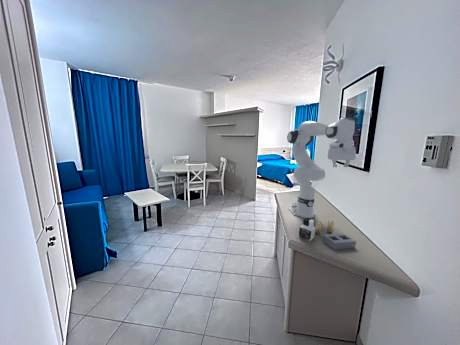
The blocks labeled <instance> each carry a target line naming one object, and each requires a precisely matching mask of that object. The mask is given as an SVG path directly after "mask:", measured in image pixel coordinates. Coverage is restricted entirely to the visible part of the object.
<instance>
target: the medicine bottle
mask: <svg viewBox="0 0 460 345" xmlns="http://www.w3.org/2000/svg"><path fill="white" fill-rule="evenodd" d="M314 222H315V221H314V219H312V218H305V217H304V218H303V221H302V225H301V226H299V231H298V232H299V233H298V238H300V239H303V240H305V241H307V242H311V241H312V240H313V239H314V238H315V235H316V234H315V229H316V226H314V225H315V224H314Z"/></svg>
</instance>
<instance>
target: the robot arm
mask: <svg viewBox="0 0 460 345" xmlns="http://www.w3.org/2000/svg"><path fill="white" fill-rule="evenodd" d="M355 128H356V122H355V119H353V118H352V117H350V118H349V117H341V118H340V119H338V121H336V122H334V123H331V124H325V123H321V122H318V121H313V120H307V121H303V122H302V123H300V125H299V127H298V129H296V128H295V129H293V130H290V131H289V132H288V133H287V135H286V138H287V139H286V140H287V143H289V144H292V148H291V152H292V155H293V158H294V159H295V160H294V161H295V162H296V165H297V166H298V167H296V168H295V169H294V170H293V178H294V179H295V180H296V181H297V183H298V186H299V194H298V195H299V196H297V200H296V201H294V202H292V203H291V207H288V210H289V211H290V212H291V214H292V215H294V216H296V217H301V218H304V219H305V218H310V219H312V218H314V217H315V215H316V212H315V192H316V189H315V188H314V186H312V185H311V182H317V181H322V180H324V179H325V178H326V172H325V171H326V170H325V169H324V168H322V167H320V166H319V165H318V164H316V163H315V162H314V161H313V160H312V158H311V157H310V155H309V153H308V151H307V149H306V147H308V146H309V145H310V144H311V143H312V142H313V140H314V137H320V136H326V138H327V139H331V140H335V141H333V142H331V143H329V147H328V148H329V149H328V152H327V159H328V160H330V161H331V163H332V167H333V168H338V164H337V161H345V163H343V167H344V168H348V167H349V165H350V163H351V161H355V160H356V156H357V151H356V146H355V145H354V144H353V142H354V141H353V137H354V136H355V134H356V129H355Z"/></svg>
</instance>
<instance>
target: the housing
mask: <svg viewBox="0 0 460 345" xmlns="http://www.w3.org/2000/svg"><path fill="white" fill-rule="evenodd" d="M321 241H322V242H323V243H324V244H325V245H327V246H328V247H330V248H331V249H332V250H334V251H335V250H345V249H355V248H356V244H357V241H356V240H355V239H353V238H351V237H350V236H348V235H346V234H345V233H343V232H340V233H332V234H328V233H327V234H322V240H321Z"/></svg>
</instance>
